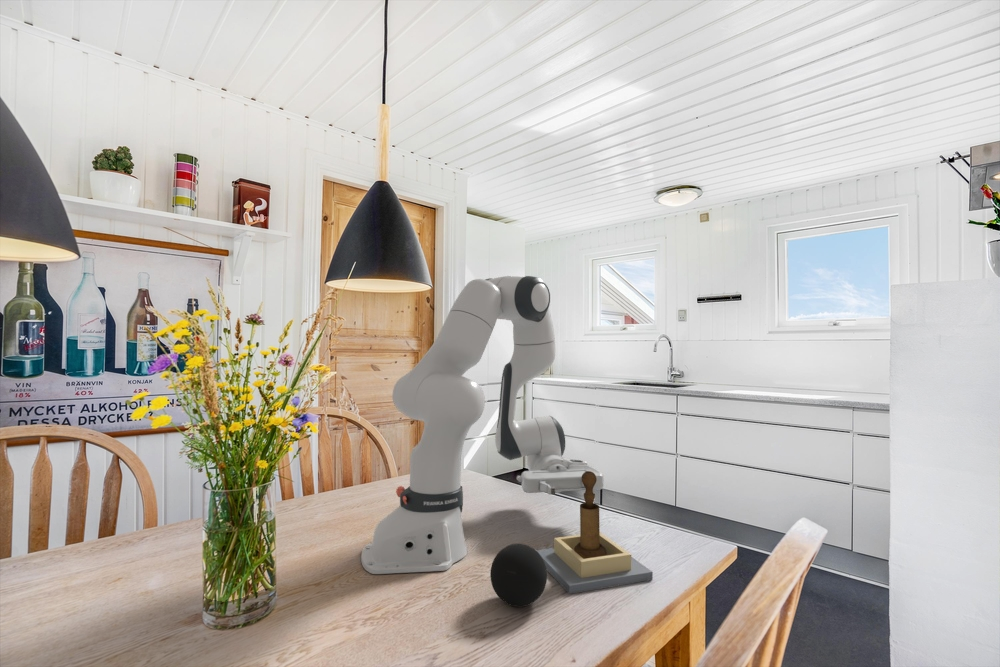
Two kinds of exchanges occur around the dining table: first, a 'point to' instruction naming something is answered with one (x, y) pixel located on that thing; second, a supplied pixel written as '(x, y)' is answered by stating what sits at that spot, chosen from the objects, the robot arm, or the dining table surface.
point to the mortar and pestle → (589, 522)
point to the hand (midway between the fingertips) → (571, 490)
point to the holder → (592, 566)
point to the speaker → (518, 575)
